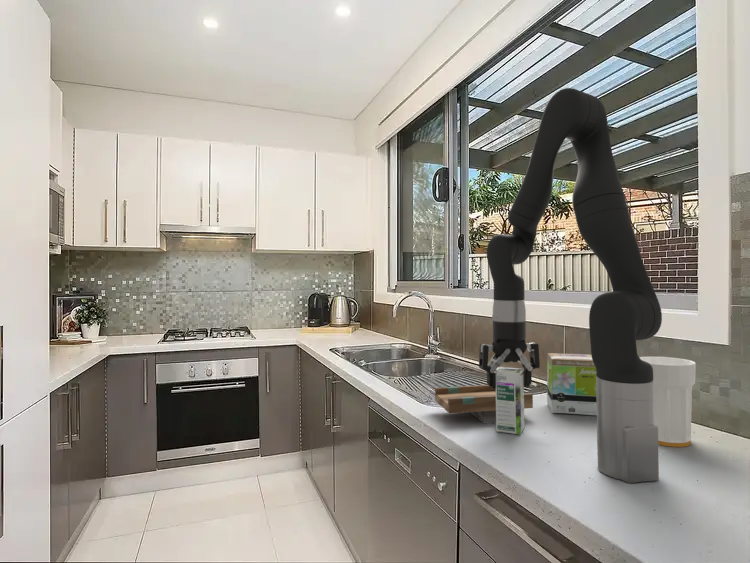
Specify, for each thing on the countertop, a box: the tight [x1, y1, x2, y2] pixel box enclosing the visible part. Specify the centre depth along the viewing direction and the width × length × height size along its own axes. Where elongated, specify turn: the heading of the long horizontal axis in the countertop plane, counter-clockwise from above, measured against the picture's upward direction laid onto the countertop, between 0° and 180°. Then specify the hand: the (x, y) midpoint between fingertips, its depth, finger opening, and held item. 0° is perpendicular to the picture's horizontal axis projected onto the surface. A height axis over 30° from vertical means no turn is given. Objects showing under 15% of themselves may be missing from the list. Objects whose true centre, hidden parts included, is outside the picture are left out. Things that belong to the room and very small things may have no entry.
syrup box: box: [494, 366, 525, 436], centre depth 108 cm, size 6×6×14 cm
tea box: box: [546, 352, 597, 417], centre depth 123 cm, size 15×10×15 cm, turn 76°
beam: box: [434, 384, 534, 424], centre depth 120 cm, size 12×22×8 cm, turn 99°
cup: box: [639, 355, 697, 448], centre depth 100 cm, size 11×11×17 cm
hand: (509, 387), depth 108 cm, fingers open, 8 cm apart
